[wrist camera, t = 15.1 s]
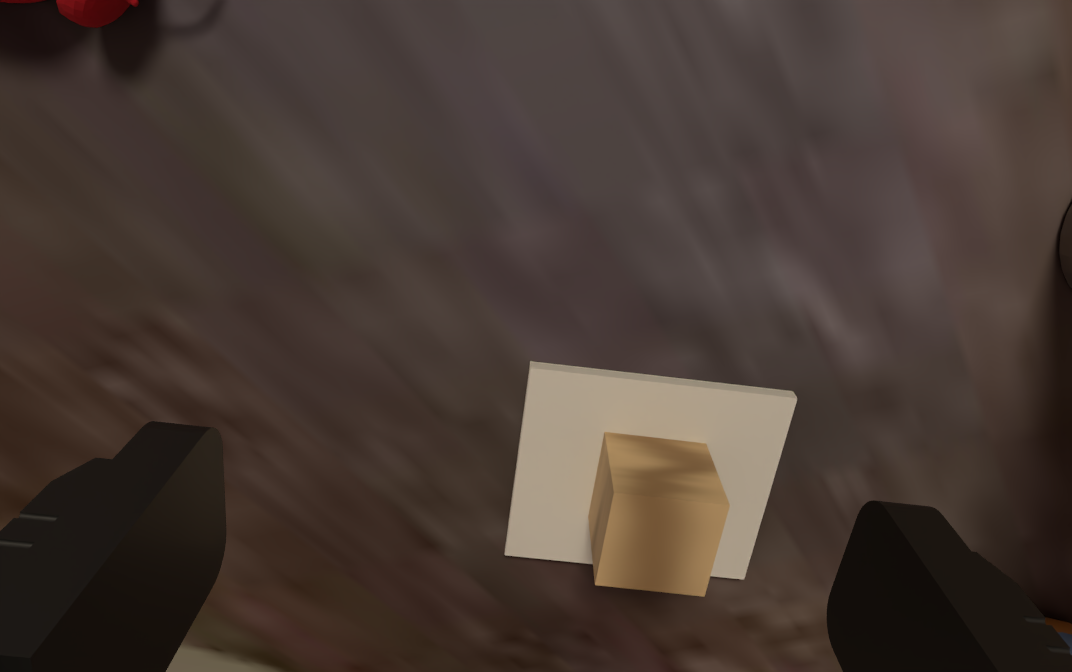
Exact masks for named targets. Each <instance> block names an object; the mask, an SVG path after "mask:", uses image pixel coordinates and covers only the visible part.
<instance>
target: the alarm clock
mask: <svg viewBox="0 0 1072 672" xmlns="http://www.w3.org/2000/svg"><path fill="white" fill-rule="evenodd" d="M41 1H46V0H0V2H6V3H34V2H41ZM56 3H57V6H58V9H59V12H60V13H61V14H62V15H63V16H65V17H66V18H68V19H69V20H71V21H73V22H75V23H77V24H79V25H81V26H85V27H94V28H98V27H102V26H104V25H107V24H109V23H111V22H113V21H115V20H116V19H117V18H119V17H120V16H121V15H122V14H123V13H124V12H125V11H126V9H127V8H128V7H129V6H130V4H131V5H133V6H134V7H136V6H138V4H139V1H138V0H56Z"/></svg>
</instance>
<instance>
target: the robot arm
mask: <svg viewBox="0 0 1072 672" xmlns="http://www.w3.org/2000/svg"><path fill="white" fill-rule="evenodd" d="M1059 255H1060V261H1061V268H1062V271H1063V274H1064V276H1065V278H1066V280H1067V282H1068V285H1069V286H1070V287H1071V288H1072V204H1071V206H1070V208H1069V210H1068V212H1067V214H1066V217H1065V220H1064V224H1063V227H1062V230H1061V235H1060V247H1059ZM225 544H226V513H225V490H224V467H223V446H222V439H221V435H220V433H219V431H218V430H217V429H216V428H211V427H202V426H192V425H183V424H174V423H165V422H155V421H152V422H149V423H147V424H145V425H144V426H143V427H142V428H141V429H140V430H139V431H138V433H137V434H136V435H135V436H134V437H133V438H132V439H131V440H130V441H129V442H128V443H127V444H126V445H125V446H124V447H123V449H122V450H121V451H120V452H119V453H118V454H117V455H116V456H115V457H114V458H113V459H103V458H94V459H92V460H90V461H89V462H87V463H85V464H83V465H81V466H79V467H77V468H75V469H74V470H72V471H70V472H68V473H66V474H64V475H62V476H60V477H59V478H57V479H55V480H53V481H51V482H50V483H49V484H48V485H47V486H46V487H45V488H44V489H43V490H42V491H41V492H40V493H39V494H38V495H37V496H36V497H35V498H34V499H33V500H32V501H31V502H30V503H29V504H28V505H27V506H26V507H25V508H24V509H23V510H22V511H21V512H20V516H19V518H13V519H12V520H11V521H10V522H9V523H8V524H7V525H6V526H5V527H4V528H3V529H2V530H1V531H0V672H166V670H167V668H168V666H169V664H170V663H171V661H172V659H173V657H174V655H175V653H176V652H177V650H178V648H179V647H180V645H181V643H182V641H183V639H184V638H185V636H186V634H187V632H188V630H189V629H190V627H191V625H192V623H193V621H194V620H195V618H196V616H197V614H198V612H199V611H200V609H201V607H202V605H203V603H204V602H205V600H206V598H207V596H208V595H209V593H210V591H211V589H212V587H213V585H214V583H215V581H216V579H217V576H218V574H219V571H220V568H221V564H222V560H223V556H224V551H225ZM827 628H828V634H829V639H830V642H831V645H832V648H833V651H834V653H835V655H836V657H837V659H838V661H839V664H840V666H841V668H842V670H843V672H1072V655H1071V654H1070V647H1069V646H1068V645H1067V643H1066V642H1065V641H1064V640H1063V639H1062V637H1061V636H1060V635H1059V634H1058V632H1057V631H1056V630H1055V629H1054V628H1053V626H1052V625H1046V623H1045V617H1044V616H1043V614H1042V613H1041V612H1040V611H1039V610H1038V608H1037V607H1036V606H1035V605H1034V603H1033V602H1032V601H1031V600H1030V599H1029V597H1028V596H1027V595H1026V594H1025V593H1024V591H1023V590H1022V589H1021V588H1020V587H1019V585H1018V584H1017V583H1016V582H1014V581H1013V580H1012V579H1011V578H1009V577H1008V576H1007V575H1005V574H1004V573H1003V572H1001V571H1000V570H999V569H997V568H996V567H995V566H994V565H992V564H991V563H990V562H988V561H987V560H986V559H984V558H983V557H982V556H980V555H979V554H978V553H977V552H971V550H970V549H969V548H968V547H967V545H966V544H965V543H964V542H963V540H962V539H961V538H960V537H959V535H958V534H957V533H956V531H955V530H954V529H953V528H952V526H951V525H950V524H949V523H948V521H947V520H946V519H945V518H944V516H943V515H942V514H941V513H940V512H939V511H938V510H937V509H935V508H933V507H929V506H920V505H910V504H901V503H892V502H882V501H869V502H867V503H866V504H865V505H864V506H863V507H862V508H861V510H860V512H859V514H858V516H857V519H856V521H855V524H854V527H853V530H852V533H851V536H850V538H849V541H848V544H847V547H846V550H845V552H844V555H843V558H842V561H841V564H840V567H839V569H838V572H837V575H836V578H835V581H834V583H833V586H832V589H831V592H830V595H829V599H828V605H827Z"/></svg>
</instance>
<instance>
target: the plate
mask: <svg viewBox="0 0 1072 672" xmlns="http://www.w3.org/2000/svg"><path fill="white" fill-rule="evenodd" d="M796 402H797V397H796V395H795V394H794V392H793V391H787V390H778V389H769V388H761V387H752V386H743V385H734V384H726V383H717V382H708V381H699V380H691V379H682V378H673V377H664V376H656V375H647V374H638V373H629V372H620V371H612V370H603V369H594V368H585V367H577V366H568V365H559V364H550V363H542V362H533V361H530V366H529V373H528V380H527V388H526V395H525V403H524V410H523V417H522V425H521V432H520V440H519V447H518V454H517V462H516V469H515V477H514V484H513V491H512V499H511V506H510V514H509V521H508V528H507V536H506V543H505V555H507V556H517V557H527V558H537V559H546V560H556V561H566V562H576V563H586V564H593V561H592V550H591V540H590V530H589V520H588V515H589V509H590V504H591V499H592V494H593V489H594V483H595V478H596V473H597V468H598V463H599V458H600V452H601V447H602V442H603V437H604V432H611V433H620V434H628V435H637V436H646V437H654V438H663V439H672V440H680V441H689V442H697V443H706V444H707V447H708V450H709V452H710V455H711V457H712V460H713V463H714V465H715V468H716V470H717V473H718V476H719V478H720V481H721V483H722V486H723V489H724V491H725V494H726V496H727V499H728V502H729V504H730V507H729V511H728V514H727V518H726V521H725V525H724V529H723V532H722V536H721V539H720V543H719V546H718V550H717V554H716V557H715V561H714V564H713V568H712V571H711V575H710V576H714V577H723V578H733V579H743V580H744V578H745V574H746V571H747V568H748V564H749V561H750V558H751V554H752V551H753V547H754V544H755V541H756V537H757V534H758V530H759V527H760V524H761V520H762V517H763V514H764V510H765V507H766V503H767V500H768V497H769V493H770V490H771V486H772V483H773V480H774V476H775V473H776V469H777V466H778V463H779V459H780V456H781V453H782V449H783V446H784V442H785V439H786V436H787V432H788V429H789V425H790V422H791V419H792V415H793V412H794V409H795V405H796Z"/></svg>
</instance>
